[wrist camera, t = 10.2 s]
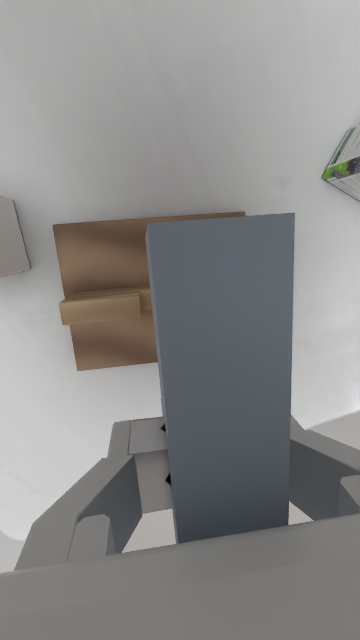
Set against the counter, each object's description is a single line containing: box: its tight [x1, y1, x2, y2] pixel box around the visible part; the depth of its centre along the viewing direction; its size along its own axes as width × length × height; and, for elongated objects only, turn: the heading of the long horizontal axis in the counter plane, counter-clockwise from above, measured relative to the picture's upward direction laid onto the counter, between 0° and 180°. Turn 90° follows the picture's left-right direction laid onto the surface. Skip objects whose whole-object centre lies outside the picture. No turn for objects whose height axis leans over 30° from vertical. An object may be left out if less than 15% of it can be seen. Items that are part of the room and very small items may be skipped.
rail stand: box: [53, 212, 245, 371], centre depth 31 cm, size 16×20×7 cm
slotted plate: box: [145, 213, 295, 544], centre depth 10 cm, size 12×2×10 cm, turn 4°
